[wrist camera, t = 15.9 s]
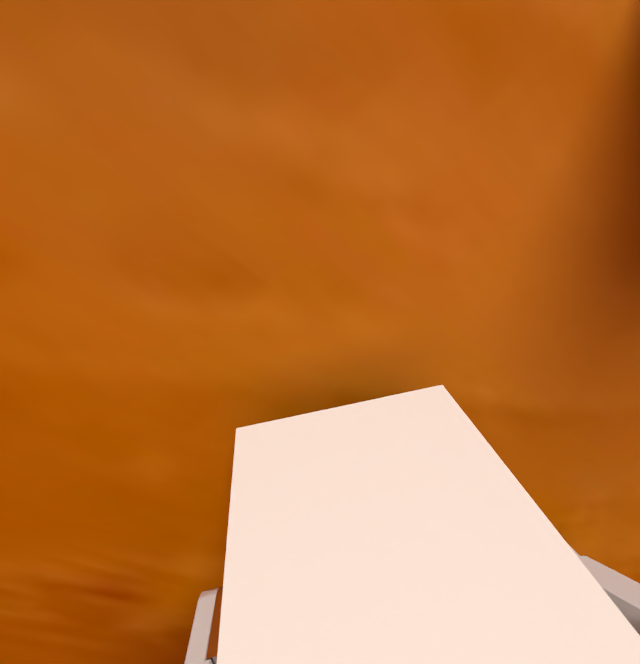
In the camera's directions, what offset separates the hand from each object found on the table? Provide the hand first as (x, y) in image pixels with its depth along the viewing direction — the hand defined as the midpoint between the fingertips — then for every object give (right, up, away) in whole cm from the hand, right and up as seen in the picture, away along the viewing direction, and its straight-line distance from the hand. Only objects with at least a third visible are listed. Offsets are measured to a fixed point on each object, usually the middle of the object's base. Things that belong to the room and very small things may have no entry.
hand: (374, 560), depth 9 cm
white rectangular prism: (-1, +2, +2) cm, 3 cm away
